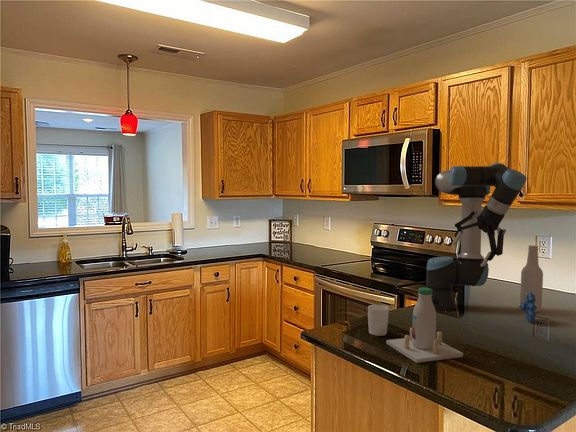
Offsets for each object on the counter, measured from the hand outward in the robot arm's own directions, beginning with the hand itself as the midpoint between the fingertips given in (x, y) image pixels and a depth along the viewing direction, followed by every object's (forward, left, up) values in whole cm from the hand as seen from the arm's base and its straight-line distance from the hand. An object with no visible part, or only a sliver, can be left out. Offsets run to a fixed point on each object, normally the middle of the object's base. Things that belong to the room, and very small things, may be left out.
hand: (467, 254), depth 169 cm
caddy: (+15, -30, -30) cm, 45 cm away
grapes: (-1, +34, -30) cm, 45 cm away
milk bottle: (+14, -30, -29) cm, 44 cm away
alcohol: (-14, +50, -30) cm, 60 cm away
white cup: (-5, -36, -30) cm, 47 cm away
